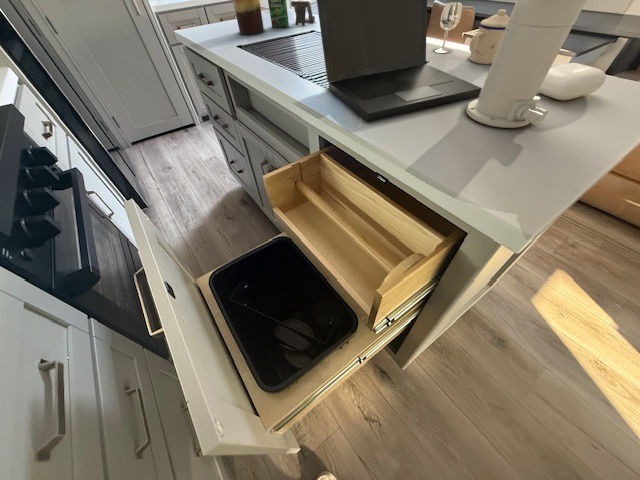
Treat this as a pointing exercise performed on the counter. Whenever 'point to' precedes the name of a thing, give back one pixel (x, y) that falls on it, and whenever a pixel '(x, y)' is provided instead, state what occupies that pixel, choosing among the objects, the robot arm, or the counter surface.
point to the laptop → (401, 91)
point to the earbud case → (571, 81)
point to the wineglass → (449, 20)
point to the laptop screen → (371, 36)
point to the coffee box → (278, 13)
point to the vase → (249, 16)
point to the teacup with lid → (488, 38)
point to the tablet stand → (302, 11)
